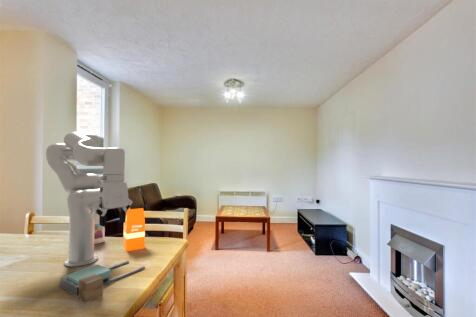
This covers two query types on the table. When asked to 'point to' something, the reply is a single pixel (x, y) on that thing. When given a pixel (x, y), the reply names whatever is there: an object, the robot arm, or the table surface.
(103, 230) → the milk bottle
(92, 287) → the block
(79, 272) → the sage green box
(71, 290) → the track
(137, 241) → the orange juice
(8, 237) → the table surface
